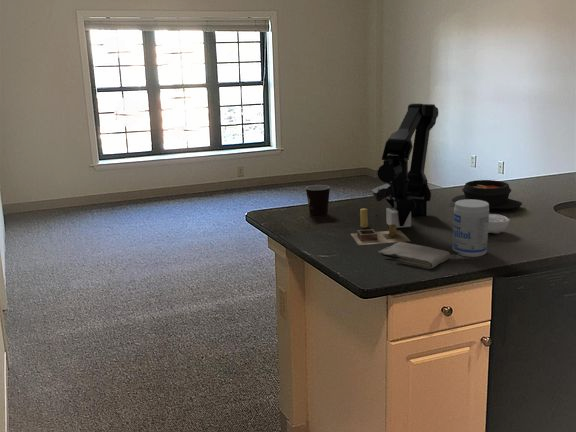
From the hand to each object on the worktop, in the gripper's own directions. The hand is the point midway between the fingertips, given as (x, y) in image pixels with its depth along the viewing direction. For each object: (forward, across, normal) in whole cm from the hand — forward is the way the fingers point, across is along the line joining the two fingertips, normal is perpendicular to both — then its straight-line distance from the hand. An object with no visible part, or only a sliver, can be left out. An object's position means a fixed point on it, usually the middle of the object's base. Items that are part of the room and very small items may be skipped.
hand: (398, 223), depth 207 cm
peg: (+2, -2, -11) cm, 11 cm away
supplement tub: (+2, +28, +13) cm, 31 cm away
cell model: (+2, +11, +26) cm, 28 cm away
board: (+2, +11, -9) cm, 14 cm away
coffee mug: (+2, -27, -22) cm, 35 cm away
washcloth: (+3, +28, -4) cm, 29 cm away
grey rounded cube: (0, 0, 0) cm, 0 cm away
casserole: (+2, -20, +38) cm, 43 cm away
